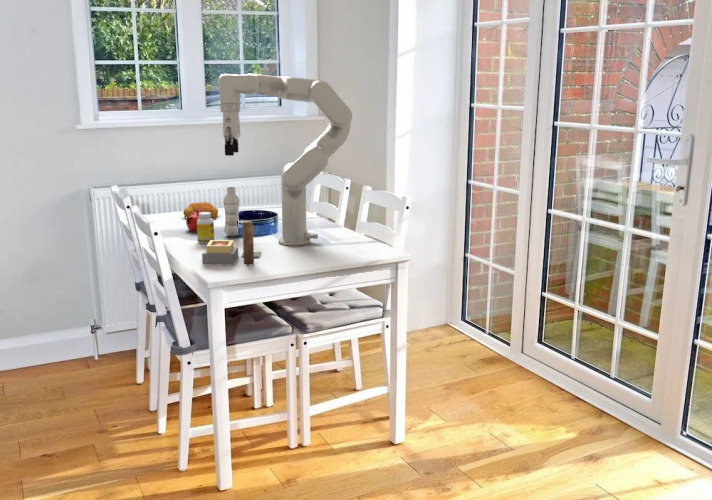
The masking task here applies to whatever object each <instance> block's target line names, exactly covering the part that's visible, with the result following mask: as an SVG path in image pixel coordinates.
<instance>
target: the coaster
mask: <svg viewBox="0 0 712 500" xmlns="http://www.w3.org/2000/svg"><path fill="white" fill-rule="evenodd" d="M261 254H262V251H254V259H259V258H260V257H261ZM240 258H241V259H244V255H243V253H242V254H241V256H240Z"/></svg>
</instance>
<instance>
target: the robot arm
mask: <svg viewBox="0 0 712 500" xmlns="http://www.w3.org/2000/svg"><path fill="white" fill-rule="evenodd" d="M218 83H219V85H218V86H219V87H218V88H219V89H218V90H219V111H220V113H222V133H223V138H224V155H225V156H227V157H230V156H232V157H233V156H234V155H235V154H234V153H238V152H239V138H240V137H241V125H240V124H241V123H240V113H241V112H242V111H241V94H242V95H250V96H251V95H252V96H253V95H261V96H267V97H275V98H279V99H281V100H287V101H296V102H304V103H313V104H315V105H316V106H317V107H318V109H319V110H320V111H321V112H322V113H323V115H324V116H325V117H326V118H327V119H328V121H329V123H328V126H327V128H326V129H325V130H324V131H323V132H322V134H320V136H318V138H316V139H315V140H314V141H312V142H311V143H310V144H309V145H308V146H307V147H305V149H303V152H302V154H301V156H300V157H298V159H296V160H295V161H294V162H289V163H286V164H285V165H284V166H283V168H282V169H281V173H280V183H281V184H280V185H281V219H282V220H281V225H282V226H281V227H282V228H281V229H282V230H281V231H282V233H281V234H282V236H281V237H280V238H279V239H278V244H279V245H280V244H281V245H284V246H289V247H291V246H292V247H293V246H294V247H296V246H305V245H308V244H310V243H311V239H318V238H319V237H318V233H315V232H308V231H309V230H308V229H307V185H309V184H310V183H312V181H313V180H314V179H316V177H318V176H319V175H320V174H321V173H322V172H323V171H324V170H325V169H326V167H327V166H328V163H329V159H330V158H331V157H332V156H333V154H335V153H336V152H337V151H338V150H339V149H340V148H341V147H342V146H343V145H344V144H345V142H346V140H347V139H348V137H349V135H350V131H351V130H350V129H351V122H352V121H353V120H352V119H353V111H352V110H351V109H350V107H349V106H348V105H347V104H346V103H345V102H344V101H343V99H342V98H341V97H340V96H339V95H338V93H337V92H336V91H335V90H334V89H333V87H332V86H331V85H330V84H329V83H328V82H326V81H324V80H319V79H311V78H303V77H293V76H273V75H267V74H265V75H263V74H256V73H247V74H235V73H234V74H231V73H230V74H229V73H223V74H220V76H219V78H218Z"/></svg>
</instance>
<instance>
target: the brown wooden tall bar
mask: <svg viewBox="0 0 712 500" xmlns="http://www.w3.org/2000/svg"><path fill="white" fill-rule="evenodd" d="M241 223H242V247H243V248H242V249H243V250H242V254H243V255H244V258H243V265H245V264H247V265H246V266H251V265H250V264H252V265H254V264H255V258H254V252H255V251H254V249H255V248H254V222H253V221H251V220H244V221H241Z"/></svg>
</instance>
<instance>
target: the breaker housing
mask: <svg viewBox="0 0 712 500" xmlns="http://www.w3.org/2000/svg"><path fill="white" fill-rule="evenodd" d="M234 241H235V240H233V239H230V240H229V239H226V240H225V239H218V240H217V239H214V240H210V242H209V243H206V246H205V247H206V248H205V249H204V250H203V251H202V254H201V256H202V257H201V258H202V265H203V264H224V265H223V266H230V265H231V264H232V265H231V266H234V265H235V264H236V262H237V260H238V258H239V246H238V245H235V242H234ZM215 243H226V244H227V245H214V244H215ZM234 263H235V264H234ZM226 264H227V265H226ZM229 264H230V265H229ZM233 264H234V265H233Z"/></svg>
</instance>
